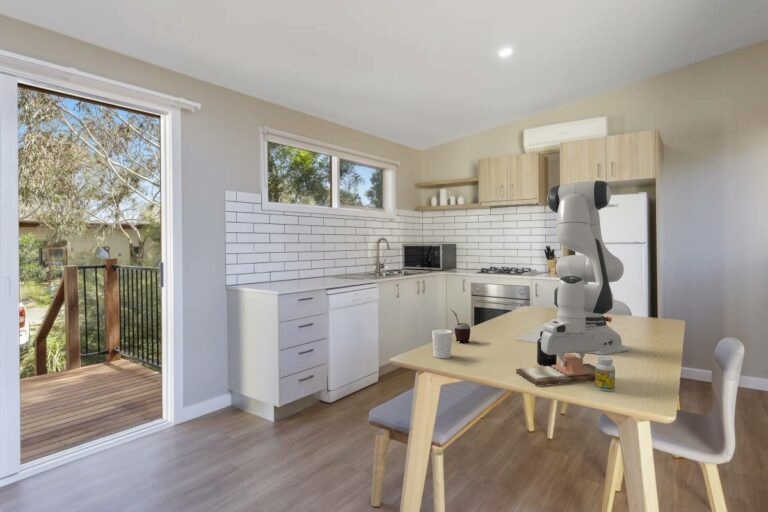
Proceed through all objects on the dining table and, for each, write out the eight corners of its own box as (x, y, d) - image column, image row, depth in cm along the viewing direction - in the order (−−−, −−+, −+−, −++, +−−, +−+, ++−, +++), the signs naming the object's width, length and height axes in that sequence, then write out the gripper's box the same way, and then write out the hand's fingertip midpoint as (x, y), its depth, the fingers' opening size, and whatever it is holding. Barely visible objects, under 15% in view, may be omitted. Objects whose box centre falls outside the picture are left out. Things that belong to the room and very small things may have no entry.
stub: (572, 365, 149) (572, 352, 149) (591, 374, 139) (591, 360, 139) (551, 366, 147) (551, 353, 147) (569, 376, 137) (569, 362, 137)
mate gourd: (472, 341, 192) (472, 308, 191) (466, 344, 185) (466, 310, 185) (457, 339, 196) (457, 307, 195) (450, 342, 189) (450, 309, 189)
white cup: (454, 354, 170) (454, 330, 170) (449, 359, 163) (448, 334, 163) (435, 352, 174) (435, 328, 173) (429, 357, 167) (429, 332, 166)
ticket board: (588, 367, 152) (588, 361, 152) (614, 379, 139) (614, 372, 139) (516, 373, 146) (516, 366, 146) (536, 386, 134) (536, 379, 134)
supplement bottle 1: (554, 368, 152) (555, 334, 151) (535, 365, 155) (535, 332, 155) (558, 363, 157) (558, 331, 157) (539, 360, 161) (539, 329, 160)
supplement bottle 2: (618, 390, 129) (619, 359, 129) (606, 393, 127) (607, 361, 127) (603, 384, 134) (603, 354, 134) (591, 387, 132) (591, 357, 131)
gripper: (592, 321, 147) (591, 360, 148) (538, 324, 144) (538, 364, 144) (605, 325, 141) (604, 366, 142) (549, 328, 137) (549, 370, 138)
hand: (570, 365), depth 143 cm, fingers closed on stub, 4 cm apart
